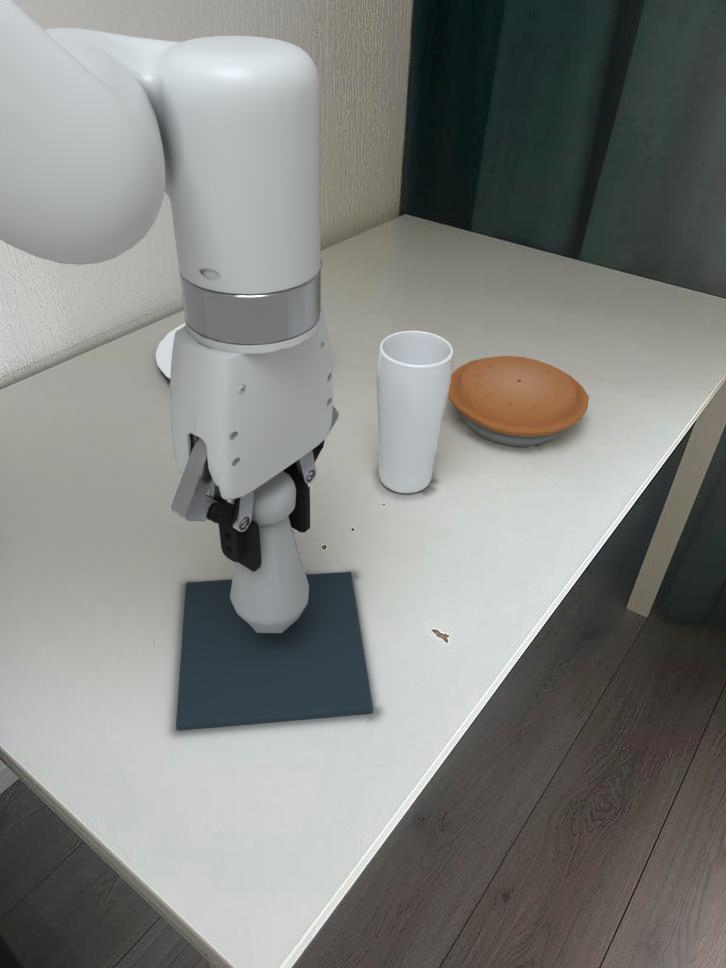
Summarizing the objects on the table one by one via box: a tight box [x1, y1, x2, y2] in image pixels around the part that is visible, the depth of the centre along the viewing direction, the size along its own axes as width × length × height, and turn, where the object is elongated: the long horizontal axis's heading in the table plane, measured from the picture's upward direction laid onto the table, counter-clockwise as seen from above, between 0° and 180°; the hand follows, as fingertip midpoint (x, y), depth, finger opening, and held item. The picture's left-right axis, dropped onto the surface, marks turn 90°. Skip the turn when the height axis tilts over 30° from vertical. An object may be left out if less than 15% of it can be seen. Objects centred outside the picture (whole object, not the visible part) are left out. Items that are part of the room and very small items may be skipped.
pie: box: [448, 355, 590, 448], centre depth 86 cm, size 15×16×5 cm
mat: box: [175, 571, 374, 731], centre depth 61 cm, size 14×14×1 cm
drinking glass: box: [376, 330, 454, 494], centre depth 73 cm, size 7×7×15 cm
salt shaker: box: [230, 471, 309, 633], centre depth 54 cm, size 6×6×13 cm
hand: (266, 539), depth 54 cm, fingers closed on salt shaker, 4 cm apart
